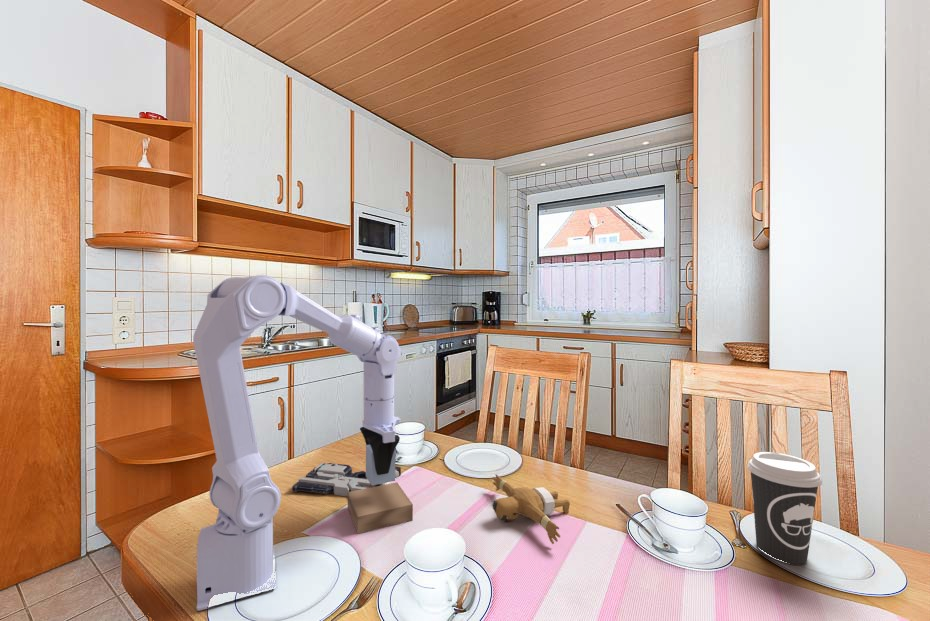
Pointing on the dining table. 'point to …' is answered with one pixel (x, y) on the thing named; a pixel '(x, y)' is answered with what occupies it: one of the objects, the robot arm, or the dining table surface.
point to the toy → (529, 505)
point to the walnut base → (379, 507)
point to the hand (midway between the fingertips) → (379, 468)
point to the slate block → (371, 470)
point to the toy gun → (335, 480)
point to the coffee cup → (783, 504)
